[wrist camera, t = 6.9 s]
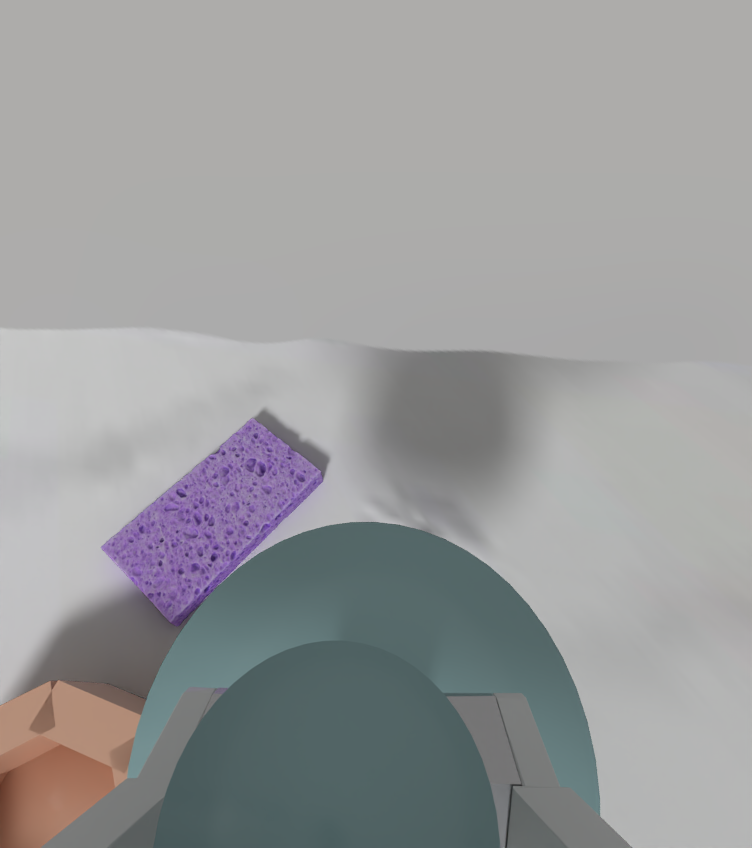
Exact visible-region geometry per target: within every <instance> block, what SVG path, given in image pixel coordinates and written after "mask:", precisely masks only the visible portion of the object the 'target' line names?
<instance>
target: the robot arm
mask: <svg viewBox="0 0 752 848" xmlns="http://www.w3.org/2000/svg"><path fill="white" fill-rule="evenodd" d="M227 689H228V688H202V687H189V688H188V689H187V690H186V691H185V692H184V693H183V694H182V695H181V697H180V699H179V701H178V703H177V705H176V706H175V708H174V710H173V712H172V714H171V716H170V717H169V719H168V721H167V723H166V725H165V727H164V729H163V730H162V732H161V734H160V736H159V738H158V740H157V742H156V743H155V745H154V747H153V749H152V751H151V753H150V754H149V756H148V758H147V760H146V762H145V764H144V766H143V767H142V769H141V771H140V773H139V775H138V777H137V778H127V779H125V780H124V781H123V782H122V783H120V784H119V785H118V786H117V787H115V788H114V789H113V790H112V791H111V792H109V793H108V794H107V795H106V796H104V797H103V798H102V799H101V800H99V801H98V802H97V803H96V804H94V805H93V806H92V807H91V808H89V809H88V810H87V811H86V812H84V813H83V814H82V815H81V816H79V817H78V818H77V819H76V820H74V821H73V822H72V823H71V824H69V825H68V826H67V827H66V828H64V829H63V830H62V831H61V832H59V833H58V834H57V835H56V836H54V837H53V838H52V839H51V840H49V841H48V842H47V843H46V844H44V845H43V846H42V847H41V848H153V845H154V840H155V835H156V829H157V824H158V819H159V815H160V811H161V808H162V804H163V801H164V797H165V794H166V790H167V787H168V785H169V782H170V780H171V777H172V775H173V772H174V770H175V767H176V764H177V762H178V760H179V758H180V756H181V754H182V752H183V750H184V748H185V746H186V744H187V742H188V741H189V739H190V737H191V736H192V734H193V732H194V731H195V729H196V728H197V726H198V725H199V723H200V721H201V720H202V718H203V717H204V716H205V714H206V713H207V712H208V711H209V709H210V708H211V707H212V706H213V704H214V703H215V702H216V701H217V699H218V698H219V697H220V696H221V695H222V694H223V693H224V692H225V691H226V690H227ZM444 695H445V696H446V697H447V698H448V700H449V701H450V702H451V704H452V705H453V706H454V708H455V709H456V710H457V712H458V713H459V715H460V716H461V718H462V720H463V721H464V723H465V725H466V727H467V728H468V730H469V732H470V733H471V735H472V737H473V740H474V742H475V744H476V746H477V749H478V751H479V753H480V755H481V758H482V760H483V763H484V766H485V769H486V772H487V776H488V779H489V782H490V785H491V789H492V794H493V799H494V803H495V808H496V812H497V820H498V829H499V837H500V848H632V847H631V846H630V845H629V844H628V843H627V842H626V841H625V840H624V839H623V838H622V837H621V836H620V835H619V834H618V833H617V832H616V831H615V830H614V829H613V828H612V827H611V826H610V825H608V824H607V823H606V822H605V821H604V820H603V819H602V818H601V817H600V816H599V815H598V814H597V813H596V812H595V811H594V810H593V809H592V808H591V807H590V806H589V805H588V804H587V803H586V802H585V801H584V800H583V799H582V798H581V797H580V796H578V795H577V794H576V793H575V792H574V791H573V790H572V789H571V788H569V787H560V785H559V782H558V780H557V777H556V774H555V772H554V769H553V767H552V764H551V761H550V759H549V756H548V754H547V751H546V748H545V746H544V743H543V741H542V738H541V735H540V733H539V730H538V728H537V725H536V722H535V720H534V717H533V715H532V712H531V709H530V707H529V704H528V702H527V699H526V697H525V696H524V695H523V694H522V693H493V694H491V693H444Z"/></svg>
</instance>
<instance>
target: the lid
mask: <svg viewBox="0 0 752 848" xmlns="http://www.w3.org/2000/svg"><path fill="white" fill-rule="evenodd" d="M189 687H202V688H228V689H227V690H226V691H225V692H224V693H223V694H222V695H221V696H220V697H219V698H218V699H217V701H216V702H215V703H214V704H213V706H212V707H211V708H210V709H209V711H208V712H207V713H206V714H205V716H204V717H203V718H202V720H201V721H200V723H199V725H198V726H197V728H196V729H195V731H194V732H193V734H192V736H191V737H190V739H189V741H188V742H187V744H186V746H185V748H184V750H183V752H182V754H181V756H180V758H179V760H178V762H177V764H176V767H175V770H174V772H173V775H172V777H171V780H170V782H169V785H168V787H167V790H166V794H165V797H164V801H163V804H162V808H161V811H160V815H159V819H158V824H157V829H156V835H155V840H154V845H153V848H500V837H499V829H498V820H497V812H496V808H495V803H494V799H493V794H492V789H491V785H490V782H489V779H488V776H487V772H486V769H485V766H484V763H483V760H482V758H481V755H480V753H479V751H478V749H477V746H476V744H475V742H474V740H473V737H472V735H471V733H470V732H469V730H468V728H467V727H466V725H465V723H464V721H463V720H462V718H461V716H460V715H459V713H458V712H457V710H456V709H455V708H454V706H453V705H452V704H451V702H450V701H449V700H448V698H447V697H446V696H445V695H444V693H491V694H493V693H522V694H523V695H524V696H525V697H526V699H527V702H528V704H529V707H530V709H531V712H532V715H533V717H534V720H535V722H536V725H537V728H538V730H539V733H540V735H541V738H542V741H543V743H544V746H545V748H546V751H547V754H548V756H549V759H550V761H551V764H552V767H553V769H554V772H555V774H556V777H557V780H558V782H559V785H560V787H569V788H571V789H572V790H573V791H574V792H575V793H576V794H577V795H578V796H580V797H581V798H582V799H583V800H584V801H585V802H586V803H587V804H588V805H589V806H590V807H591V808H592V809H593V810H594V811H595V812H596V813H597V814H598V815H599V816H600V795H599V786H598V777H597V768H596V759H595V754H594V750H593V745H592V741H591V736H590V731H589V727H588V722H587V719H586V716H585V713H584V710H583V707H582V704H581V701H580V698H579V695H578V692H577V689H576V686H575V684H574V682H573V680H572V677H571V675H570V673H569V671H568V668H567V666H566V664H565V662H564V659H563V657H562V656H561V654H560V652H559V650H558V649H557V647H556V645H555V643H554V642H553V640H552V638H551V636H550V635H549V633H548V631H547V630H546V628H545V627H544V625H543V624H542V623H541V621H540V620H539V619H538V617H537V616H536V615H535V613H534V612H533V610H532V609H531V608H530V606H529V605H528V604H527V603H526V602H525V601H524V599H523V598H522V597H521V596H520V595H519V594H518V593H517V592H516V591H515V590H514V589H513V587H512V586H511V585H510V584H509V583H508V582H507V581H505V580H504V579H503V578H502V577H501V576H500V575H499V574H497V573H496V572H495V571H494V570H493V569H492V568H491V567H489V566H488V565H487V564H485V563H484V562H482V561H481V560H479V559H478V558H477V557H475V556H474V555H472V554H471V553H469V552H468V551H466V550H464V549H462V548H461V547H459V546H457V545H455V544H453V543H451V542H449V541H447V540H445V539H443V538H440V537H438V536H435V535H432V534H430V533H427V532H425V531H422V530H418V529H414V528H410V527H406V526H401V525H396V524H387V523H378V522H351V523H343V524H336V525H329V526H325V527H321V528H317V529H314V530H310V531H306V532H303V533H301V534H298V535H296V536H293V537H291V538H288V539H286V540H283V541H281V542H279V543H277V544H275V545H274V546H272V547H270V548H268V549H266V550H265V551H263V552H261V553H259V554H258V555H256V556H255V557H253V558H252V559H251V560H249V561H248V562H246V563H245V564H244V565H242V566H241V567H239V568H238V569H237V570H236V571H234V572H233V573H232V574H231V575H230V576H229V577H228V578H227V579H226V580H224V581H223V582H222V583H221V584H220V585H219V586H218V587H217V588H216V589H215V590H214V591H213V592H212V593H211V594H210V595H209V596H208V598H207V599H206V600H205V601H204V602H203V603H202V604H201V605H200V606H199V608H198V609H197V610H196V611H195V613H194V614H193V615H192V617H191V618H190V619H189V621H188V622H187V624H186V625H185V626H184V628H183V629H182V631H181V632H180V633H179V635H178V636H177V638H176V640H175V642H174V643H173V645H172V647H171V649H170V650H169V652H168V654H167V656H166V657H165V659H164V661H163V662H162V665H161V667H160V669H159V671H158V673H157V676H156V678H155V680H154V682H153V685H152V687H151V689H150V691H149V694H148V696H147V699H146V702H145V705H144V708H143V711H142V714H141V717H140V720H139V723H138V726H137V730H136V734H135V739H134V743H133V748H132V752H131V757H130V761H129V765H128V774H127V778H137V777H138V775H139V773H140V771H141V769H142V767H143V766H144V764H145V762H146V760H147V758H148V756H149V754H150V753H151V751H152V749H153V747H154V745H155V743H156V742H157V740H158V738H159V736H160V734H161V732H162V730H163V729H164V727H165V725H166V723H167V721H168V719H169V717H170V716H171V714H172V712H173V710H174V708H175V706H176V705H177V703H178V701H179V699H180V697H181V695H182V694H183V693H184V692H185V691H186V690H187V689H188V688H189Z"/></svg>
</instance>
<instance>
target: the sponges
mask: <svg viewBox="0 0 752 848" xmlns="http://www.w3.org/2000/svg"><path fill="white" fill-rule="evenodd" d="M322 482H323V478H322V475H321V471H320V470H319V469H318V468H317V467H315V466H314V465H313V464H312V463H310V462H309V461H308V460H307V459H306V458H304V457H303V456H302V455H300V454H299V453H298V452H295V451H293V450H292V449H291V448H290V447H289V445H287V444H286V443H284V442H283V441H282V440H281V439H280V438H277V437H276V436H275V435H274V434H272V433H271V432H270V431H268V430H267V428H266V427H265V426H263V425H262V424H260V423H259V422H257V421H256V420H255V419H254V418H251V419H250V420H249V421H248V422H247V423H246V424H245V425H244V426H243V427H242V428H241V429H239V431H238V432H236V433H235V434H233V435H232V436H231V437H230V438H229V439H228V440H227V441H226V442H225V443H224V444H222V445H221V447H220V450H219V451H218V452H216V453H215V454H211V455H209V456H208V457H207V458H206V459H205V460H204V461H202V462H201V463H199V464H198V465H196V467H195V468H194V469H193V470H192V472H190V473H188V474H187V475H185V476H184V477H183V478H182V480H180V481H179V482H177V483H176V484H175V485H173V486H172V487H171V488H170V489H169V490H168V491H166V492H165V493H164V494H163V495H162V496H160V497H159V498H158V499H157V500H156V501H155V502H154V503H152V504H151V505H150V506H149V507H147V508H146V509H145V510H144V511H143V512H142V513H140V514H139V515H138V516H137V517H136V518H135V519H134V520H133V521H131V522H130V523H129V524H128V525H126V526H125V527H124V528H122V530H121V531H120V532H118V533H117V534H116V535H114V536H113V537H111V538H110V539H109V540H108V541H107V542H106V543H105V544H104V545H103V546H102V547H101V548H102V550H103V551H104V552H105V553H106V554H107V555H108V556H109V557H110V558H111V559H112V560H113V561H114V562H115V564H116V565H117V566H119V568H120V569H121V570H122V571H123V572H124V573H125V574H126V575H127V576H128V577H129V578H130V579H131V580H132V581H133V582H134V583H135V585H136V586H138V588H139V589H140V590H141V591H142V592H143V593H144V594H145V596H146V597H148V598H149V600H150V601H151V602H152V603H153V604H154V605H155V606H156V608H157V609H158V610H159V611H160V612H161V613H162V615H163V616H164V617H165V618H166V619H167V620H168V621H169V622H170V623H171V624H173V625H175V626H179V625H180V624H181V623H182V621H183V620H184V619H185V618H187V617H188V615H189V614H190V613H191V612H192V611H193V610H195V609H196V608H197V607H198V606H199V604H200V603H201V602H202V601H203V600H204V599H205V597H206V596H208V595H209V594H210V593H211V592H213V591H214V589H215V587H216V586H217V585H218V584H219V583H221V582H222V581H223V580H224V579H225V578H226V577H227V576H228V575H229V574H230V573H231V572H232V571H233V570H234V569H235V568H236V567H237V566H238V565H239V564H240V563H241V562H242V561H243V560H244V559H245V558H246V557H247V556H248V555H249V554H250V553H251V552H252V551H253V550H254V549H255V548H256V547H257V546H258V545H259V544H260V543H261V542H262V541H263V540H264V539H265V538H266V537H267V536H268V535H269V534H270V533H271V532H272V531H273V530H274V529H275V528H276V527H277V526H278V524H279V523H280V522H282V520H283V519H284V518H286V517H287V516H289V515H290V514H291V513H292V512H293V511H294V510H295V509H296V508H297V507H298V506H299V505H300V503H302V502H303V501H304V500H305V499H306V498H307V497H308V496H309V495H310V494H311V493H312V492H313V491H314V490H315V489H316V488H317V487H318V486H319V485H320V484H321V483H322Z"/></svg>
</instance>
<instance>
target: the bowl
mask: <svg viewBox="0 0 752 848" xmlns="http://www.w3.org/2000/svg"><path fill="white" fill-rule="evenodd" d="M145 702H146V699H143V698H141V697H139V696H136V695H134V694H131V693H129V692H127V691H124V690H122V689H119V688H117V687H115V686H112V685H110V684H105V683H91V682H78V681H65V680H58V681H49V682H47V683H45V684H43V685H41V686H39V687H37V688H35V689H33V690H31V691H29V692H27V693H25V694H23V695H20V696H18V697H16V698H14V699H12V700H10V701H8V702H6V703H4V704H2V705H0V848H41V847H42V846H43V845H44V844H46V843H47V842H48V841H49V840H51V839H52V838H53V837H54V836H56V835H57V834H58V833H59V832H61V831H62V830H63V829H64V828H66V827H67V826H68V825H69V824H71V823H72V822H73V821H74V820H76V819H77V818H78V817H79V816H81V815H82V814H83V813H84V812H86V811H87V810H88V809H89V808H91V807H92V806H93V805H94V804H96V803H97V802H98V801H99V800H101V799H102V798H103V797H104V796H106V795H107V794H108V793H109V792H111V791H112V790H113V789H114V788H115V787H117V786H118V785H119V784H120V783H122V782H123V781H124V780H125V779H127V774H128V765H129V761H130V757H131V752H132V748H133V743H134V739H135V734H136V730H137V726H138V723H139V720H140V717H141V714H142V711H143V708H144V705H145Z"/></svg>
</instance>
